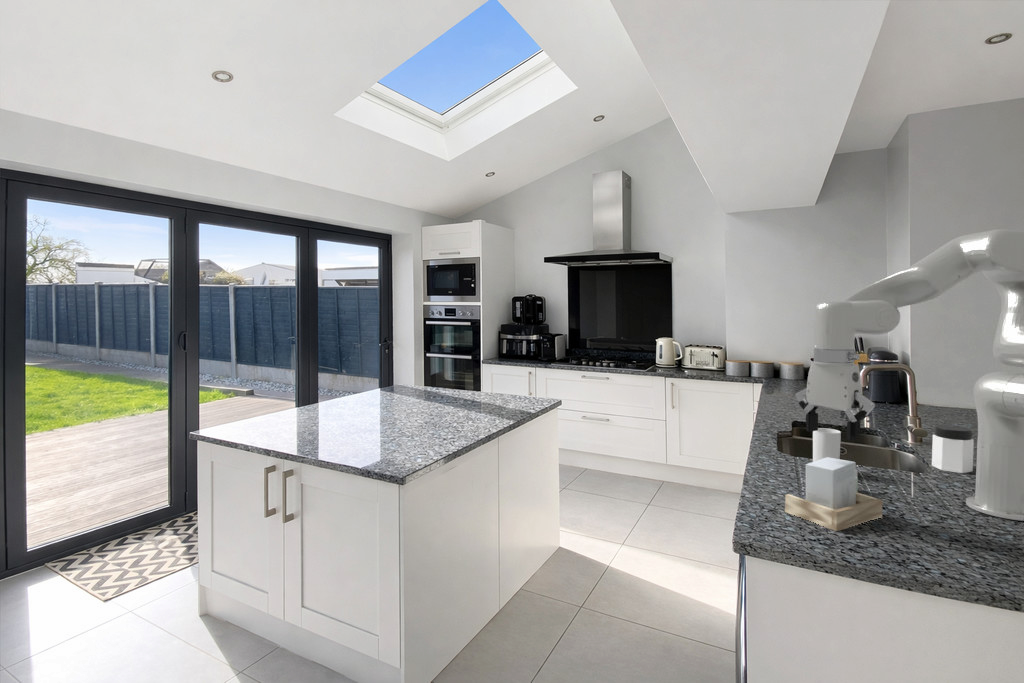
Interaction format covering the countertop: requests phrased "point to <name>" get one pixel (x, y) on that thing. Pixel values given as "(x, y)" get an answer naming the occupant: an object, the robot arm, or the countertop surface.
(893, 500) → the countertop surface
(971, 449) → the jar
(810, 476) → the skincare box
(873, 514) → the wooden tray
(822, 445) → the mug
